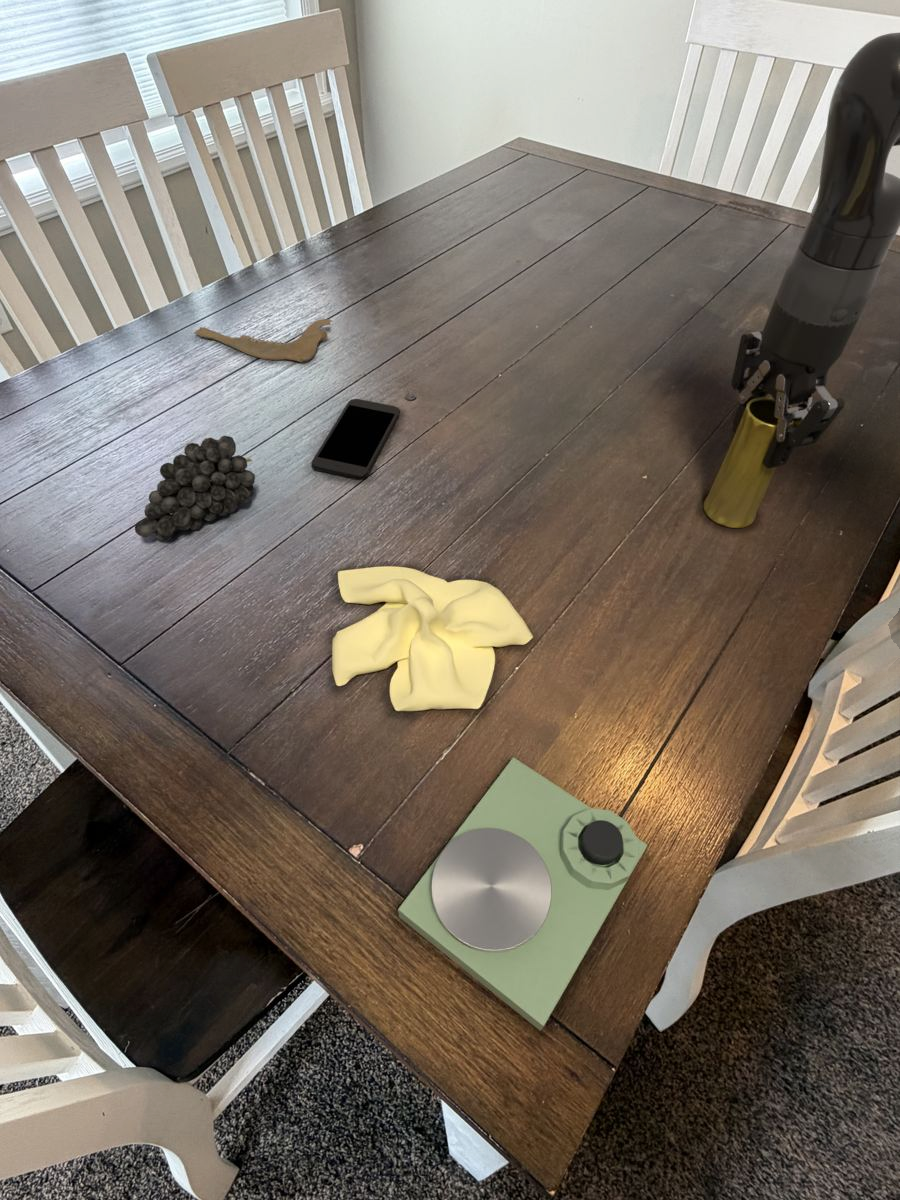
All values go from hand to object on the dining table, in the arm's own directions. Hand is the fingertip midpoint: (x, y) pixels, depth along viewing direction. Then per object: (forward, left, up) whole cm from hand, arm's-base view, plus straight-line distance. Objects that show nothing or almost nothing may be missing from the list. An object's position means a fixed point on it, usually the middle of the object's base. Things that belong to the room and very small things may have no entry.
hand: (756, 447), depth 80 cm
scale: (+40, +33, -9) cm, 53 cm away
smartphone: (+39, -26, -10) cm, 48 cm away
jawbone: (+46, -54, -10) cm, 72 cm away
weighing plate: (+43, +34, -6) cm, 55 cm away
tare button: (+34, +33, -6) cm, 48 cm away
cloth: (+41, +6, -10) cm, 43 cm away
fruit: (+60, -18, -10) cm, 63 cm away
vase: (0, 0, -10) cm, 10 cm away
